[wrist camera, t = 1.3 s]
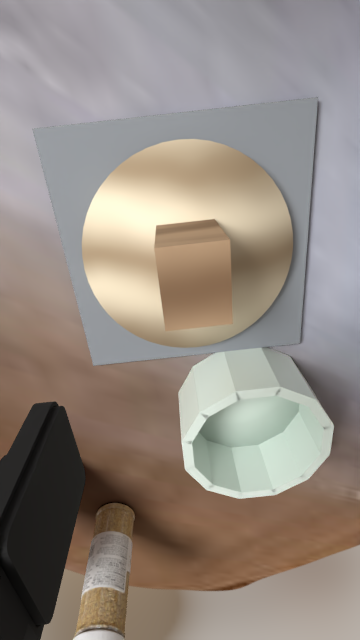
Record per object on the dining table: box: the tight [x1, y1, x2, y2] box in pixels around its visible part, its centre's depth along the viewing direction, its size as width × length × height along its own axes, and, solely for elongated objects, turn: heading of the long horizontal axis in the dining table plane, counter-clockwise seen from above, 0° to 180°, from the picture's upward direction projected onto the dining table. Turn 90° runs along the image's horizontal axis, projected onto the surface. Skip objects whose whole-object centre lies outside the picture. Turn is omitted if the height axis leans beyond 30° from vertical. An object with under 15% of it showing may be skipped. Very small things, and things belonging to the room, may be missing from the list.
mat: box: [33, 97, 318, 366], centre depth 25 cm, size 18×18×1 cm
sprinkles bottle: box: [73, 503, 135, 640], centre depth 33 cm, size 5×5×13 cm
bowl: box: [178, 347, 334, 499], centre depth 30 cm, size 12×12×6 cm
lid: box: [82, 139, 293, 348], centre depth 22 cm, size 15×15×7 cm
